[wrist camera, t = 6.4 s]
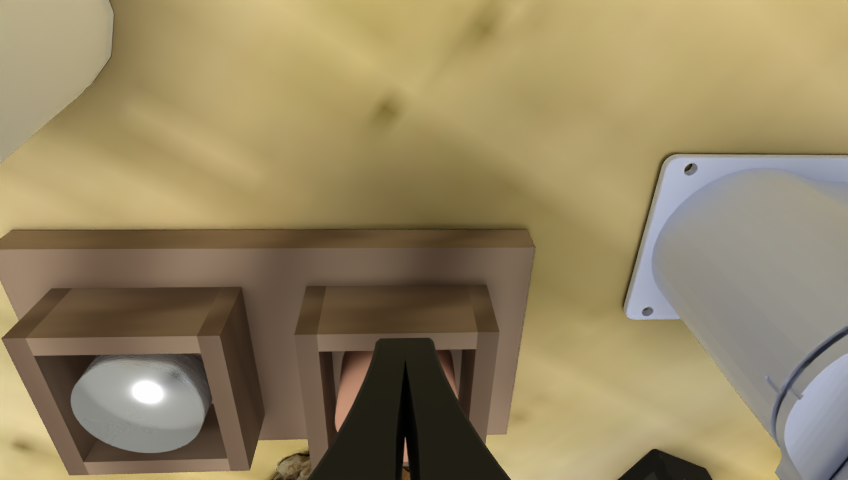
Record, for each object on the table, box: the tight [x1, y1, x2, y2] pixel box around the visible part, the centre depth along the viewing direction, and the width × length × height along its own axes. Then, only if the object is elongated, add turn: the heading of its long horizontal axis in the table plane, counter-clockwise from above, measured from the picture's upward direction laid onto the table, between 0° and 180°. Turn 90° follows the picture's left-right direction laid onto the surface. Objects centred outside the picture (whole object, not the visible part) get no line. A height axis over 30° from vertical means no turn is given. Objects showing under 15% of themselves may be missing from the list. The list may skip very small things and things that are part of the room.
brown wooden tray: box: [0, 229, 535, 475], centre depth 22 cm, size 21×11×4 cm, turn 89°
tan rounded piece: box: [335, 350, 458, 462], centre depth 21 cm, size 5×5×3 cm
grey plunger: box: [71, 353, 212, 453], centre depth 21 cm, size 5×5×3 cm
